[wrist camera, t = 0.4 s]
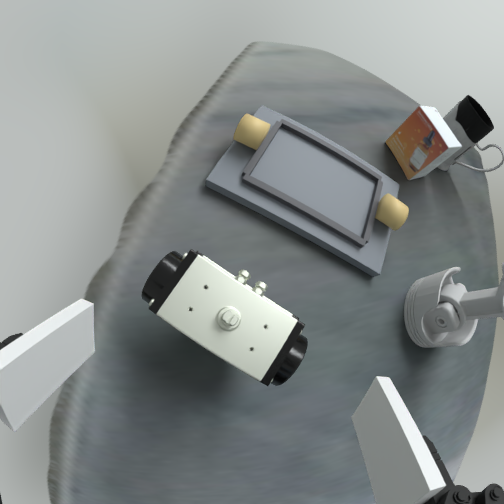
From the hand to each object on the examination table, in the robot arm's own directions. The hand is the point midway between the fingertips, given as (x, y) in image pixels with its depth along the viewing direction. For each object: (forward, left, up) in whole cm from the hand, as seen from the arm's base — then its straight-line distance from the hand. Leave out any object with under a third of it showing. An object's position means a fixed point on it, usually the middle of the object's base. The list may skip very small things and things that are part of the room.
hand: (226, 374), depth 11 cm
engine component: (+15, -25, -16) cm, 34 cm away
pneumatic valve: (+3, +1, -16) cm, 17 cm away
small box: (+39, -15, -16) cm, 45 cm away
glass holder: (+47, -25, -16) cm, 56 cm away
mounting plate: (+23, -2, -16) cm, 28 cm away
